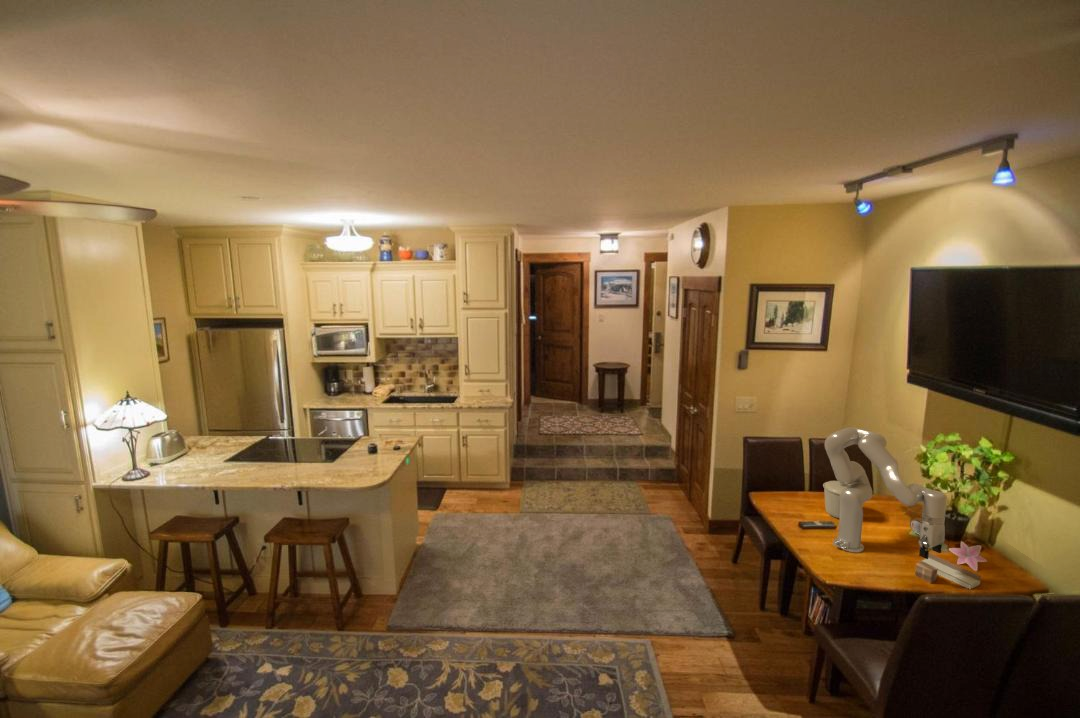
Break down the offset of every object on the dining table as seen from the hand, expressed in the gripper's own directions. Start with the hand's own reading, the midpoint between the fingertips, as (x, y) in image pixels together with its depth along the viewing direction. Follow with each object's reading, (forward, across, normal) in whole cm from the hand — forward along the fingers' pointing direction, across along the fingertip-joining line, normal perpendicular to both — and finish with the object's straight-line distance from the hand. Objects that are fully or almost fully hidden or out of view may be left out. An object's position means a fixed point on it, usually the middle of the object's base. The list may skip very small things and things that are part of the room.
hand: (930, 554), depth 203 cm
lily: (+12, +29, -1) cm, 31 cm away
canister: (+11, +21, +54) cm, 59 cm away
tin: (+12, +37, +20) cm, 44 cm away
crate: (+12, 0, +1) cm, 12 cm away
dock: (+12, +12, -2) cm, 17 cm away
